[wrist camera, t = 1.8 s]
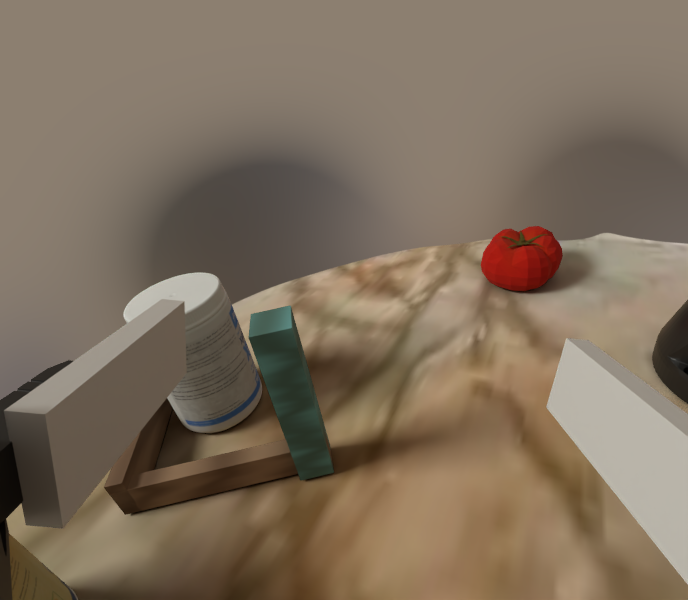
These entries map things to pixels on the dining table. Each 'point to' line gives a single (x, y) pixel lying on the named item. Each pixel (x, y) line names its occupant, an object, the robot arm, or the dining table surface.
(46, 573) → the supplement tub
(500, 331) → the dining table surface
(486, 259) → the tomato
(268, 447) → the wooden frame
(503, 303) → the dining table surface
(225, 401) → the supplement tub
